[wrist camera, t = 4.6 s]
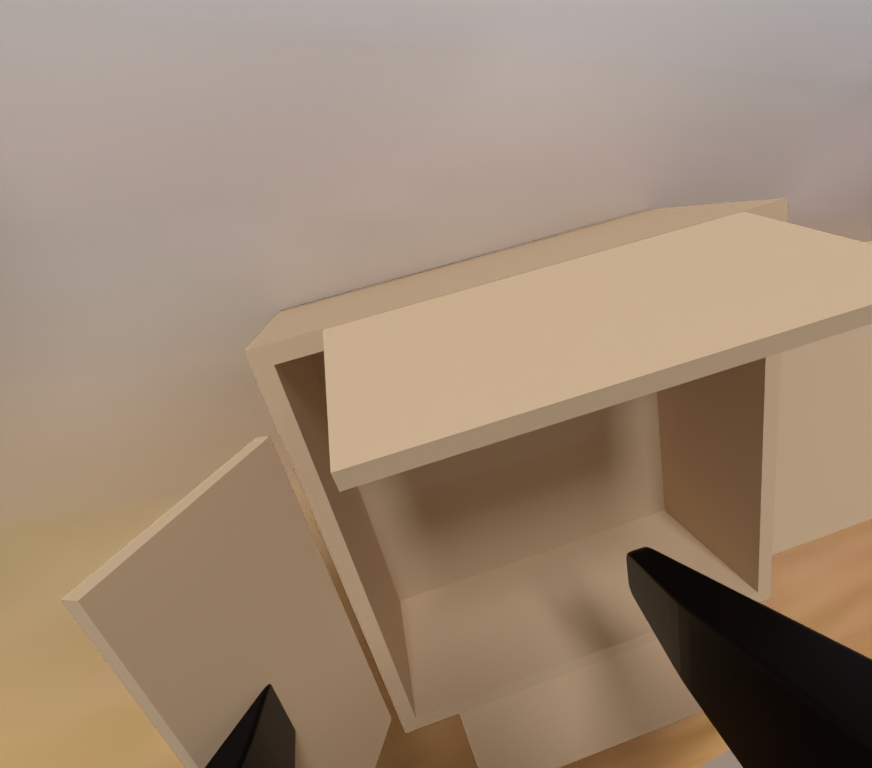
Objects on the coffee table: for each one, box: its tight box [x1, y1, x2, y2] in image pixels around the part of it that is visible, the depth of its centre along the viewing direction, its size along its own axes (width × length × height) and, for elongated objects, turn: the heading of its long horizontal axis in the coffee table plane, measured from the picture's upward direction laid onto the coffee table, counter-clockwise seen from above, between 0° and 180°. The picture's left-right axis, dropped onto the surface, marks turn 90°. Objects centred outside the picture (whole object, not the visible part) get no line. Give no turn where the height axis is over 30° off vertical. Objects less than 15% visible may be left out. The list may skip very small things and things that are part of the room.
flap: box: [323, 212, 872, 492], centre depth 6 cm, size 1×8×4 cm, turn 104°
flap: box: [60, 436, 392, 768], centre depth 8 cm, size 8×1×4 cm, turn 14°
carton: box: [244, 198, 872, 768], centre depth 13 cm, size 15×15×4 cm
